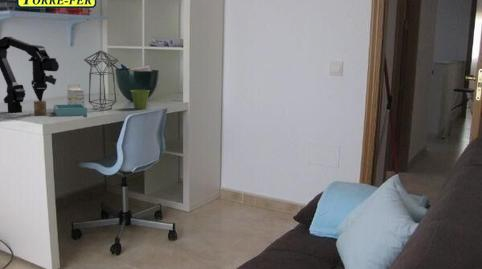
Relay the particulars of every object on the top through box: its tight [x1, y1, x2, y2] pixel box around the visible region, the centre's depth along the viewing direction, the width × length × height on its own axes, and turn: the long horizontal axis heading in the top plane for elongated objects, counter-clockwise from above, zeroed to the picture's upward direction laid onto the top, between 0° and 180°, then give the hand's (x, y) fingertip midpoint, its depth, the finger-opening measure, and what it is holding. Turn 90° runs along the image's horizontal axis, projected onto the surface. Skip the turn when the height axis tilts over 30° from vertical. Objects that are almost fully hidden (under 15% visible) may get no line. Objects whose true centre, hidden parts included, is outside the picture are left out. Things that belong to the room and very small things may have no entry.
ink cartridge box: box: [67, 83, 85, 106], centre depth 284 cm, size 9×5×15 cm, turn 141°
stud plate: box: [29, 112, 52, 117], centre depth 253 cm, size 10×10×5 cm
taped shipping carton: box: [33, 100, 47, 115], centre depth 252 cm, size 5×5×7 cm
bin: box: [53, 104, 88, 118], centre depth 260 cm, size 15×15×5 cm
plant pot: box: [130, 89, 150, 110], centre depth 296 cm, size 12×12×11 cm
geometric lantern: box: [83, 50, 119, 111], centre depth 284 cm, size 16×16×35 cm
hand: (39, 100), depth 252 cm, fingers open, 9 cm apart
